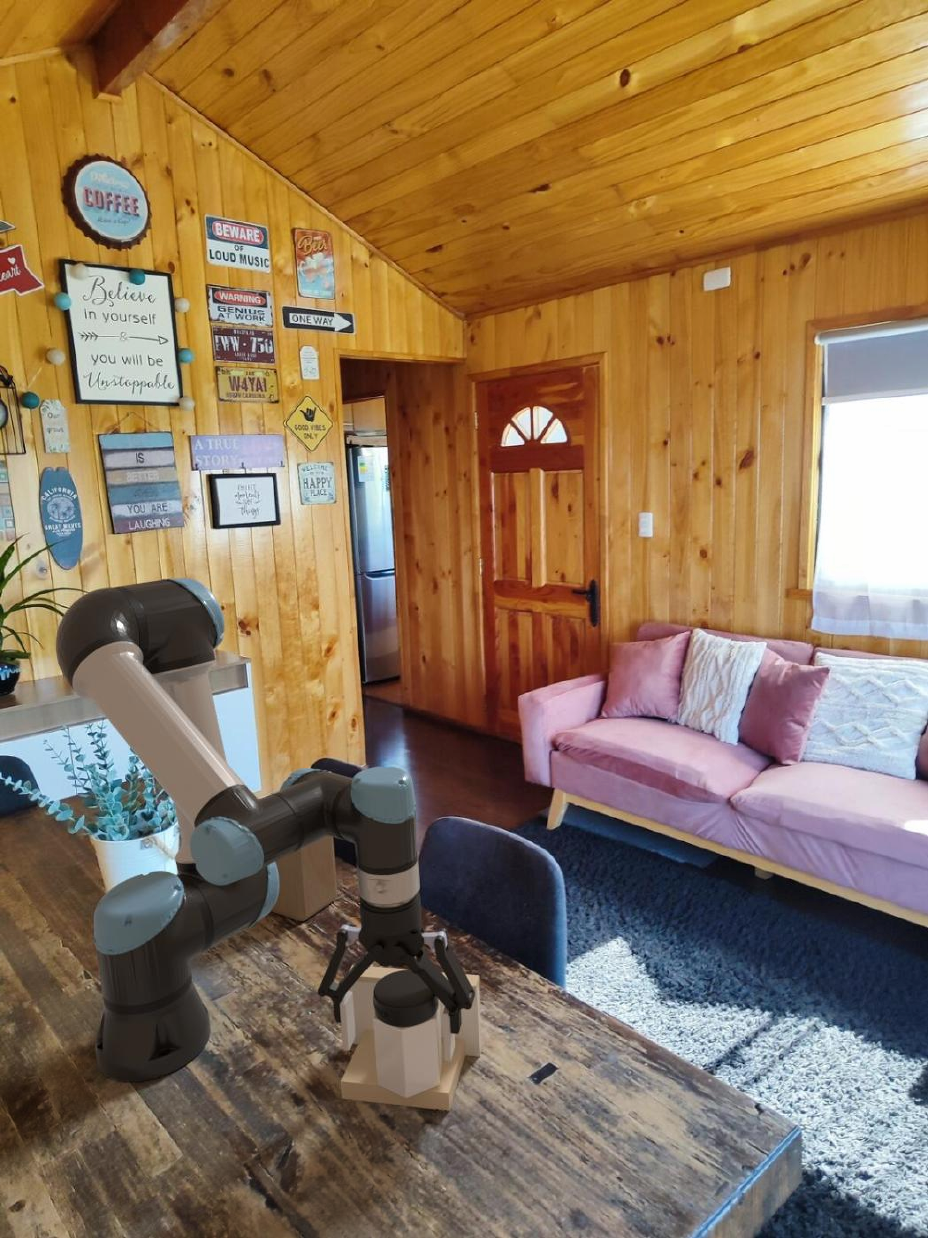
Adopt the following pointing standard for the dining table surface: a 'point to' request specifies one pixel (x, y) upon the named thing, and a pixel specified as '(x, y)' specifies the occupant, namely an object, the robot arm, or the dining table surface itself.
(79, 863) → the dining table surface
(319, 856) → the wooden block
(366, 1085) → the cleat board
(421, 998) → the jar
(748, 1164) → the dining table surface
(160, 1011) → the robot arm
